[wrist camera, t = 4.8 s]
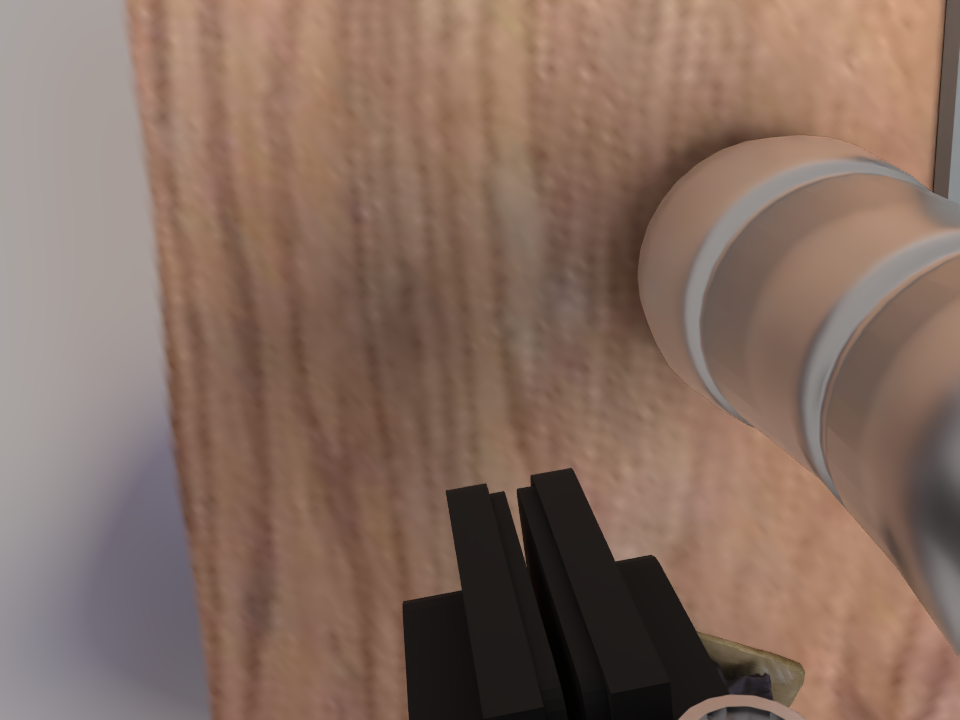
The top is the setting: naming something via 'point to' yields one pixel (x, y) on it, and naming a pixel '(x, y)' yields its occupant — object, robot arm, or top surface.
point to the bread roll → (754, 670)
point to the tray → (949, 111)
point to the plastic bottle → (826, 331)
